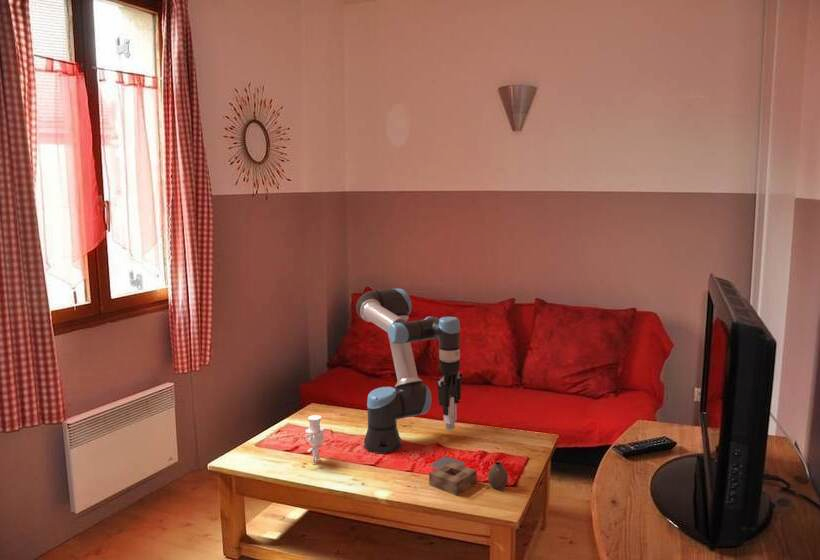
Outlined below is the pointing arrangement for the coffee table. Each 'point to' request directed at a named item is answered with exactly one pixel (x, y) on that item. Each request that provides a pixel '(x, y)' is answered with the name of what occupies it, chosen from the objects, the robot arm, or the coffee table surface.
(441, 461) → the mat
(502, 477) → the vase
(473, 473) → the block
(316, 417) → the figurine
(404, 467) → the coffee table surface
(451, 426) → the peg
